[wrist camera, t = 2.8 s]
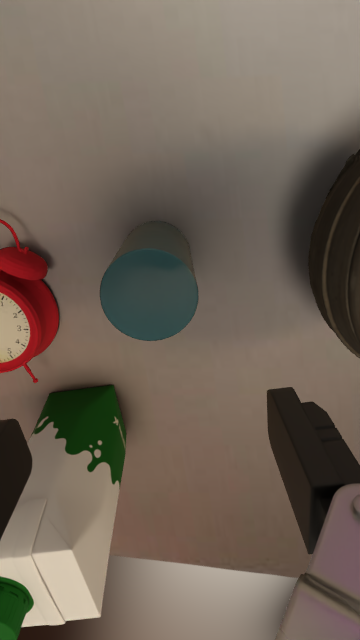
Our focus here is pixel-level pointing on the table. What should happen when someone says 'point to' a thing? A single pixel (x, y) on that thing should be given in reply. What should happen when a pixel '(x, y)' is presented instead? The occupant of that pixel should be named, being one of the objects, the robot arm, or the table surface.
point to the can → (151, 283)
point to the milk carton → (64, 513)
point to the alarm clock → (24, 307)
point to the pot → (339, 256)
